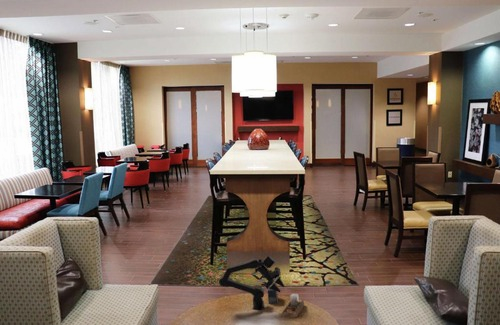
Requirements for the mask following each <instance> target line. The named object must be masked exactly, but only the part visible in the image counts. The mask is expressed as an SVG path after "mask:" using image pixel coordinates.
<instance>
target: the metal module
mask: <svg viewBox="0 0 500 325" xmlns="http://www.w3.org/2000/svg"><path fill="white" fill-rule="evenodd" d="M289 297H290V298H289V299H290V300H289V302H290V301H291V307H298V306H299V302H300V299H299V293H291V294H290V295H289Z"/></svg>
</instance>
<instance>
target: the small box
mask: <svg viewBox="0 0 500 325" xmlns="http://www.w3.org/2000/svg"><path fill="white" fill-rule="evenodd" d="M277 285H278V284H276V286H277ZM277 287H278V286H277ZM269 288H270V287H269ZM269 288H268V289H267V301H268V305H270V304H278V301H279V296H278V291H275V290H272V289H269Z"/></svg>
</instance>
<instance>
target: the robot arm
mask: <svg viewBox="0 0 500 325" xmlns="http://www.w3.org/2000/svg"><path fill="white" fill-rule="evenodd" d="M274 264H276V260H275V259H274V258H273V257H272V256H270V255H267V256H266V257H265V258H264V259H260V258H259V259H258V257H253V258H251V259H249V260H247V261H246V262H242V263H237V264H234V265H232V266H227V268H226V270H225V271H224V273H223V275H221V276H220V277H219V280H218V282H219V283H218V284H219V286H220V287H225V288H226V287H227V288H234V289H237V290H239V291H240V290H241V291H243V292H244V293H245V292H246V293H249V294H251V295H252V306H253V307H252V310H256V311H257V310H259V311H260V310H262V309H263V308H264V307H265V303H264V301H265V300H264V299H263V297H264V295H265V289H264V288H263V287H262V286H261V285H257V284H255V286H253V285H252V286H251V285H248V284H245V283H242V282H240V281H237V280H233V279H232V278H231V277H230V276H231V274H232V273H237V272H240V271H244V270H253V269H254V273H255V274H256V273H259V274H260V276H263V277H262V278H263V279H265V280H266V281H267V282H266V283H265V288H266V289H267V290H268V288H269V287H270V288H269V289H272V290H275V291H277V293H280V292H281V289H280V288H279V287H278V286H276V285H279V286H281V287H282V288H285V283H283V280H282V278H281V277H282V274H281V273H282V272H281V269H280V267H278V266H276V267H274V269H273V270H272V269H270V268H272V266H273V265H274Z"/></svg>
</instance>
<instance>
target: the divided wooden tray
mask: <svg viewBox="0 0 500 325" xmlns="http://www.w3.org/2000/svg"><path fill="white" fill-rule="evenodd" d="M304 306H305V303H304V300H303V299H302V300H301V301H299V306H298V307H291V301H290V300H289V302H288V303H287V305H286V306H285V308H284V309H283V310H282V312H281V314H282V318H283V317H287V318H298V316H299V315H300V313H301V312H302V309H303V308H304Z"/></svg>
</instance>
